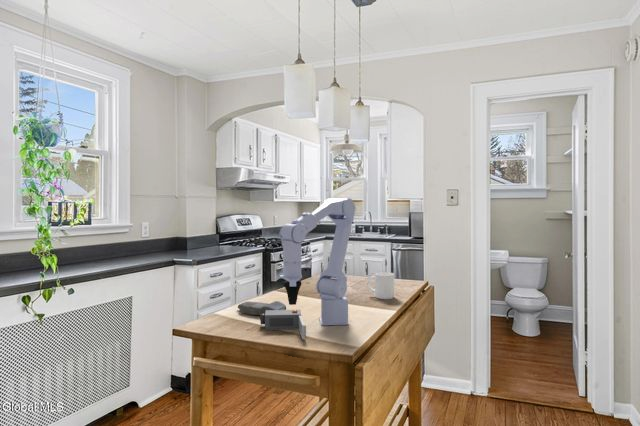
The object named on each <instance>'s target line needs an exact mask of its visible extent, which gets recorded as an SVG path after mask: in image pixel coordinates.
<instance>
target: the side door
mask: <svg viewBox="0 0 640 426" xmlns="http://www.w3.org/2000/svg"><path fill="white" fill-rule="evenodd" d="M298 330H299V333H300V337H301V339H302V340H305V338H307V325H305V323H304V320H303V317H302V314H301V315H299V329H298Z"/></svg>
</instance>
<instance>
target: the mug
mask: <svg viewBox="0 0 640 426" xmlns="http://www.w3.org/2000/svg"><path fill="white" fill-rule="evenodd" d="M372 280H374V288H372V286H371V282H372ZM366 284H367V289H368V291H370V292H371V293H374V296H375V298H376V299H379V300H391V299H393V298H394V297H395V274H394V272H388V271H387V272H386V271H380V272H375V273H374V275H372V276H370V277H369V278H368V279H367V282H366Z"/></svg>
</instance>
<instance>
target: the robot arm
mask: <svg viewBox="0 0 640 426" xmlns="http://www.w3.org/2000/svg"><path fill="white" fill-rule="evenodd" d="M356 209H357V208H356V205H355V202H354V200H353V199H352V198H351V197H348V198H347V197H346V198H341V197H340V198H335V197H334V198H333V197H329V198H327V199H325V200H323V202H322V204H321V205H320V206H318V207H317V208H316V209H315V210H313V211H312V212H303V213H301V216H299V217H298V218H296V219H293V220H292V222H290V223H285V224H284V225H283V226H282V227H281V228H280V230H279V233H278V235H279V236H278V237H279V239H280V240H281V246H282V253H283V254H282V255H283V257H282V258H283V261H282V262H283V263H282V265H283V266H282V267H283V274H280V275H279V279H283V280H285V281H283V286H284V289H285V291H286V294H287V300H288V305H290V306H294V305H297V302H298V296H299V292H300V288H301V286H302V280H301V279H302V278H303V275H302V242H303V241H304V240H305V238H306V235H307V234H308V233H310V232H311V231H313V230H314V229H315V228H316V227H317V225H318V222H319V221H321V220H323V219H324V218H326V217H328V218H329V219H330V220H331V222H333V223H334V224H335V226H336V227H335V231H334V234H333V240H332V245H331V249H330V254H329V258H328V264H327V266H326V268H325V269H324V270H322V271H321V272H320V274H319V277H318V279H317V281H316V291H317V293H318V294H319V297H320V298H321V305H320V306H321V308H320V309H321V315H320V316H321V317H319V322H320V323H319V324H320V326H343V325H346V326H348V325H349V299H348V296H346V293H347V288H348V285H347V282H348V277H347V275H345V273H344V272H343V268H344V264H345V259H346V254H347V249H348V245H349V239H350V234H351V230H352V225H353V223H354V218H355V214H356Z"/></svg>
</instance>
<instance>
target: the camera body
mask: <svg viewBox="0 0 640 426" xmlns="http://www.w3.org/2000/svg"><path fill="white" fill-rule="evenodd" d="M301 312H302V310H301V309H286V310H266V312H265V314H261V315H260V325H264V331H274V330H275V331H279V330H282V331H284V330H285V331H286V330H299V315H301V316H302V313H301Z"/></svg>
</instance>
